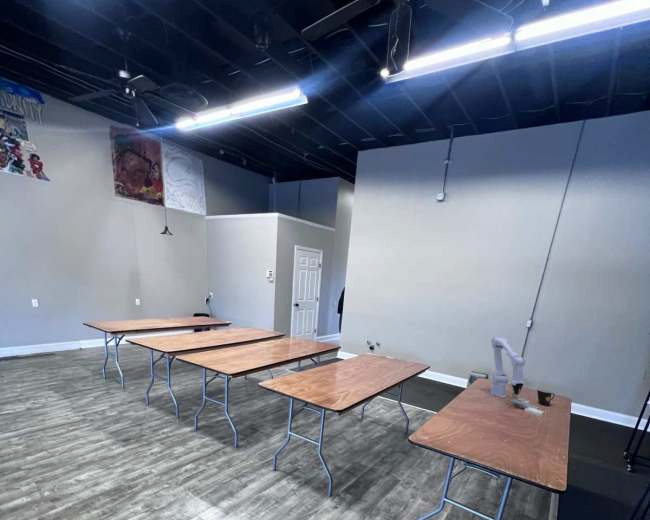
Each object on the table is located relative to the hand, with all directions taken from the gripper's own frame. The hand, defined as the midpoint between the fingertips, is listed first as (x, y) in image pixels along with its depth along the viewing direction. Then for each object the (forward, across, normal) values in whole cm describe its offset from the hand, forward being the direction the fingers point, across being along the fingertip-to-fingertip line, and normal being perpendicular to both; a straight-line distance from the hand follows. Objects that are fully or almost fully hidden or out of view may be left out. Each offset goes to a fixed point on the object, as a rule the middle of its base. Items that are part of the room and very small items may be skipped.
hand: (517, 394), depth 209 cm
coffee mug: (+9, +26, -10) cm, 30 cm away
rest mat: (+9, +10, -2) cm, 13 cm away
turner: (+4, 0, -2) cm, 4 cm away
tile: (+8, 0, -6) cm, 10 cm away
